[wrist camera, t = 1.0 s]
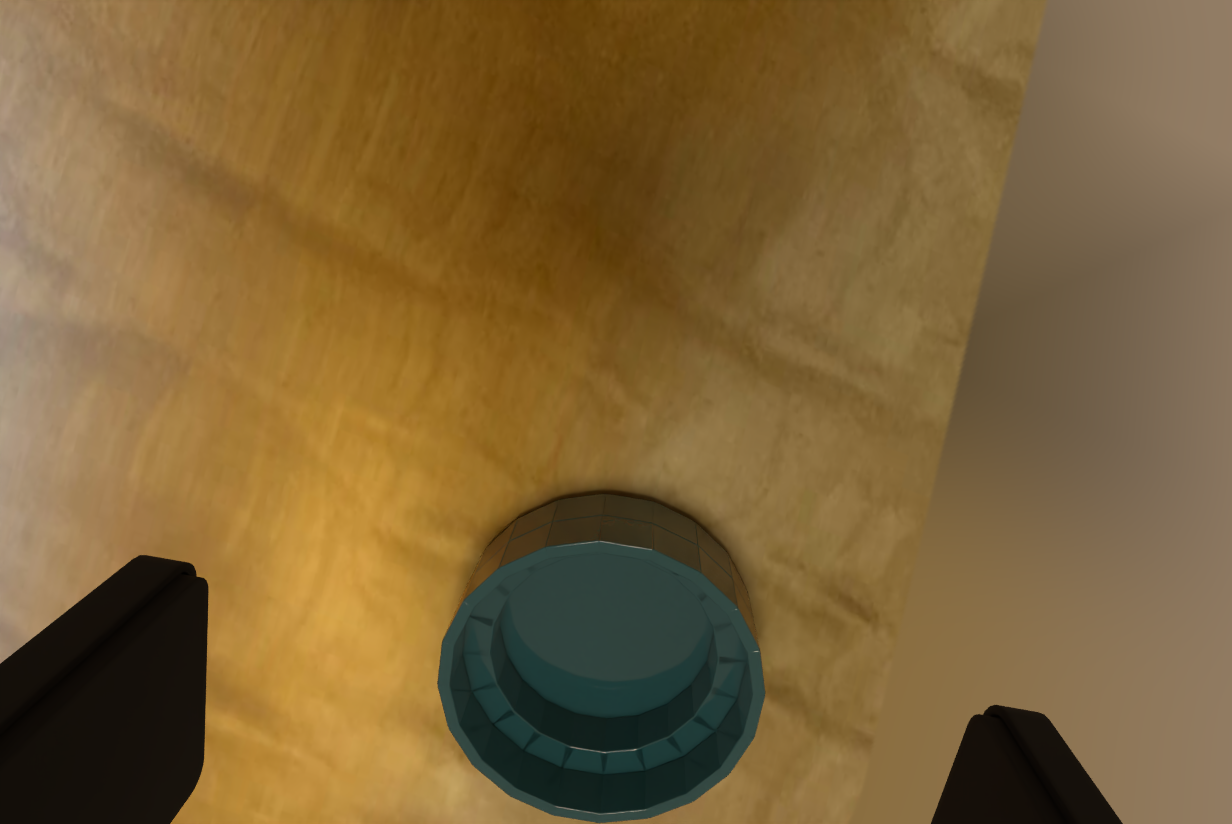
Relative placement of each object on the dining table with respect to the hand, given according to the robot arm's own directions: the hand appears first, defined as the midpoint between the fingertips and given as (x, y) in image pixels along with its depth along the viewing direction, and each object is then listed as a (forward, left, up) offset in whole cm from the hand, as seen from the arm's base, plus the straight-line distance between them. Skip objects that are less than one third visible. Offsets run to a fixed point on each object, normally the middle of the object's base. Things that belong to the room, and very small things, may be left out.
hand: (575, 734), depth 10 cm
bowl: (+11, -13, -30) cm, 35 cm away
